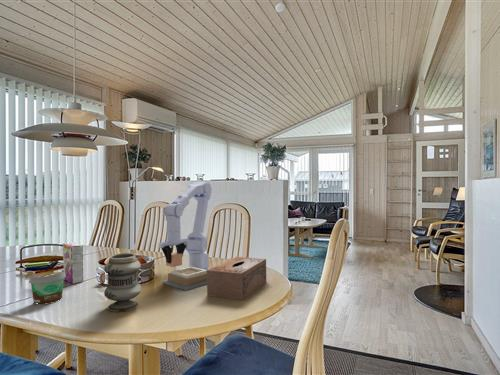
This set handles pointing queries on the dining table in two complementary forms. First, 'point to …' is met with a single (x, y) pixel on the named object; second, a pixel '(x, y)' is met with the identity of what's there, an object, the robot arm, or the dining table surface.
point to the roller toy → (102, 277)
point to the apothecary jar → (122, 281)
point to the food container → (47, 287)
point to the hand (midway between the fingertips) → (174, 261)
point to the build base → (187, 278)
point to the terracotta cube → (175, 260)
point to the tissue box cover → (236, 277)
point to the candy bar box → (73, 262)
